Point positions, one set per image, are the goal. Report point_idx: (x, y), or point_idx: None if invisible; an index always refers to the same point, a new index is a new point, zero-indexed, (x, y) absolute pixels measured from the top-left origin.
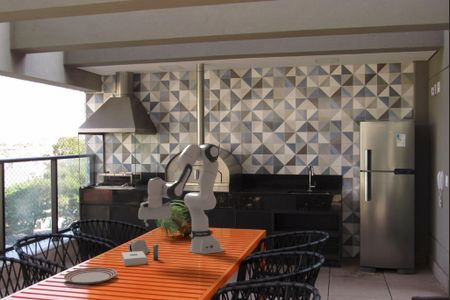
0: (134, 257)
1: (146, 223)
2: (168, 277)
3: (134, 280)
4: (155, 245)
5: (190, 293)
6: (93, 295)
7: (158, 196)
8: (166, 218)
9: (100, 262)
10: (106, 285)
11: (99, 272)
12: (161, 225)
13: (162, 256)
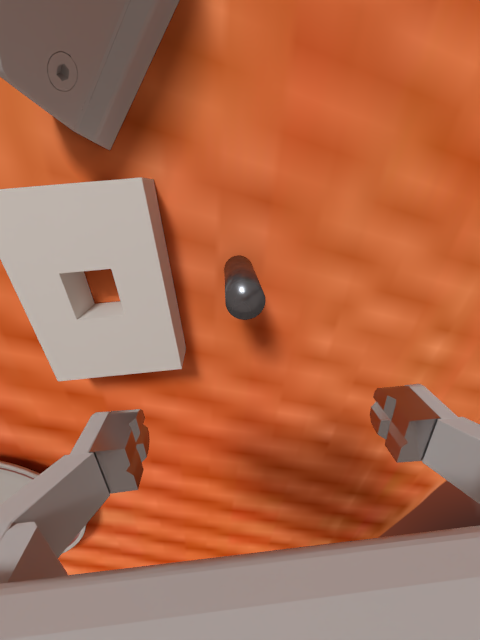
0: (111, 361)
1: (93, 502)
2: (257, 508)
3: (154, 520)
4: (242, 311)
5: None
6: None
7: None
8: None
9: None
10: (78, 543)
11: (2, 470)
12: (376, 429)
13: (289, 186)
